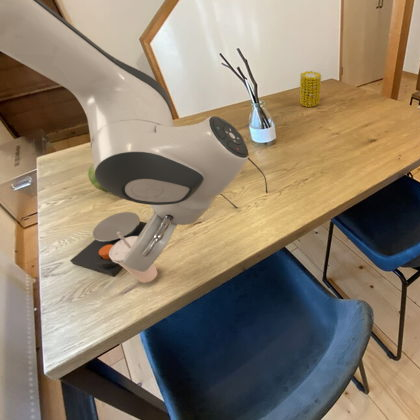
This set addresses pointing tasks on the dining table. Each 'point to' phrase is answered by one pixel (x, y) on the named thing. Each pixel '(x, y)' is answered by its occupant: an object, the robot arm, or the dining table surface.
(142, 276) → the smoothie
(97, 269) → the scale
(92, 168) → the decorative ball
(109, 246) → the tare button
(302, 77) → the food
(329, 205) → the dining table surface
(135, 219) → the scale pan
